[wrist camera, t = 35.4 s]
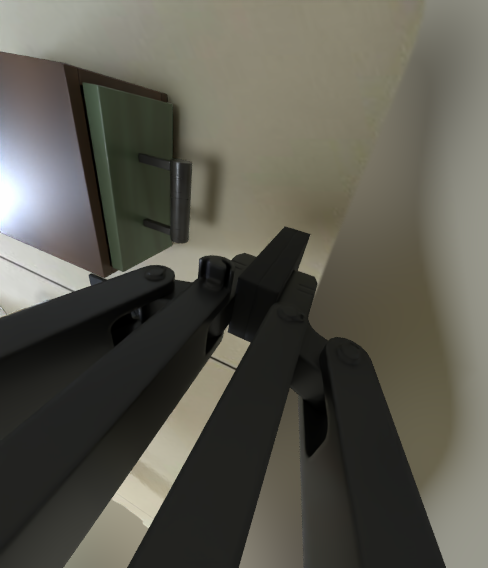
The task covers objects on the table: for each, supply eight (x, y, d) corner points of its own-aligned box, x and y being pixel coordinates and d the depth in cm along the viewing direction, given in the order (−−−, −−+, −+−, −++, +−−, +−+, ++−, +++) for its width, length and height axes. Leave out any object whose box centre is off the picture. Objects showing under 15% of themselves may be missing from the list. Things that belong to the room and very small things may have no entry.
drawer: (220, 113, 17) (161, 97, 12) (206, 258, 24) (164, 289, 19) (33, 75, 22) (-73, 51, 16) (66, 207, 29) (-1, 220, 23)
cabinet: (167, 94, 19) (62, 62, 12) (168, 244, 27) (104, 278, 20) (25, 66, 23) (-118, 30, 16) (61, 205, 30) (-24, 222, 23)
